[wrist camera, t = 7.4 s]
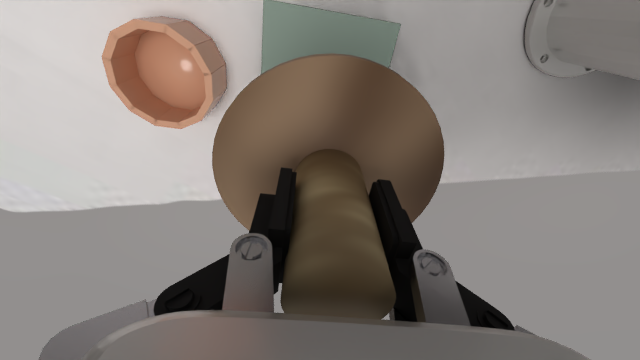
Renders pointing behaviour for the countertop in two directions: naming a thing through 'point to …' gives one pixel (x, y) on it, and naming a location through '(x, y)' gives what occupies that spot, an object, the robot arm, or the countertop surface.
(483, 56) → the countertop surface
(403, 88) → the lid
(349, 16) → the mat
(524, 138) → the countertop surface
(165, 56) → the bowl
